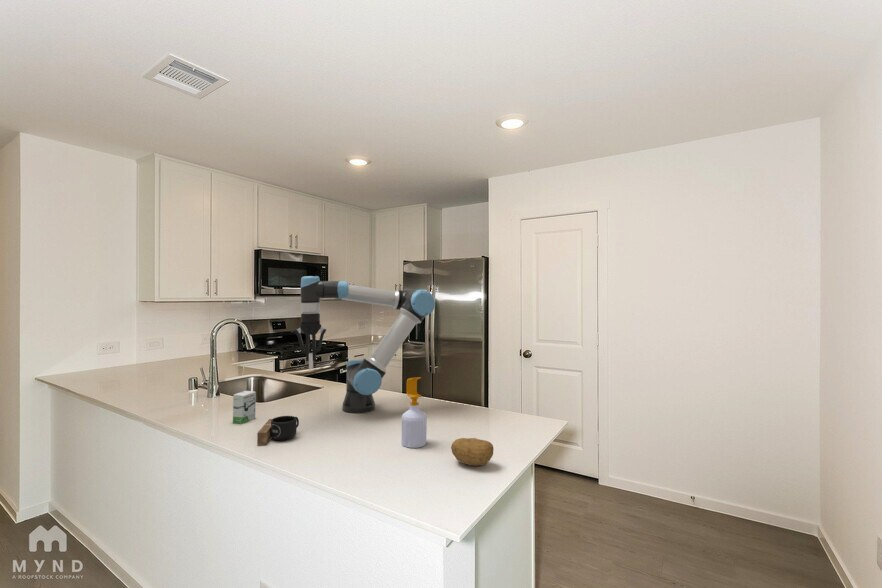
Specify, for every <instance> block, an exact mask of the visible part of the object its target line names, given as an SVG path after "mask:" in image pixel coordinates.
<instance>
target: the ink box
mask: <svg viewBox="0 0 882 588" xmlns="http://www.w3.org/2000/svg"><path fill="white" fill-rule="evenodd" d="M256 395H257V392H256V391H254V390H253V391H252V390H244V391H240V392H238V393H234V394H233V397H232V399H233V402H232V424H240V425H243V423H244V424H245V423H248V422H250V421H253V420H254V419H256V406H257V405H256V401H257V399H256V397H257V396H256Z"/></svg>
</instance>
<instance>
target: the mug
mask: <svg viewBox="0 0 882 588" xmlns="http://www.w3.org/2000/svg"><path fill="white" fill-rule="evenodd" d="M271 419H272V420H271V436H272V438H271V439H273V440H276V441H281V442H282V441H288V440H291V439H293V438H294V437H295V435H296V434H297V428H298V427H299V426H300V420H299V418H298V416H294V415H281V416H276V417H273V418H271Z"/></svg>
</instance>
